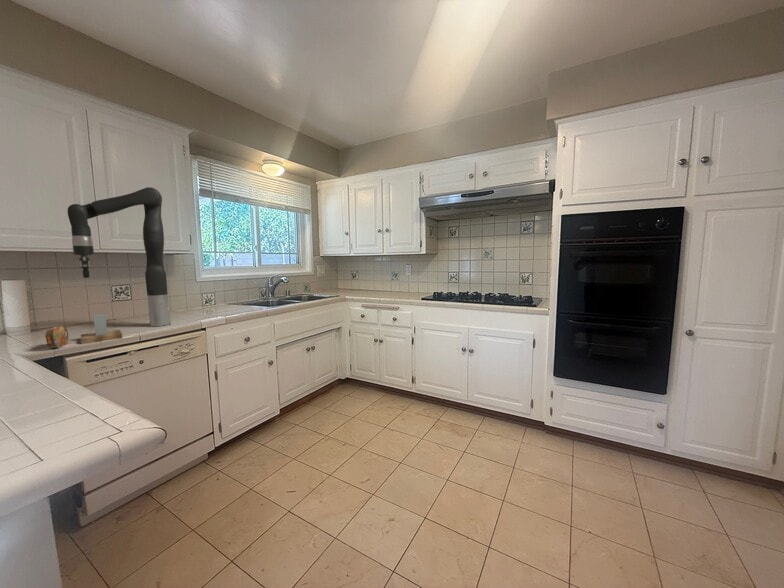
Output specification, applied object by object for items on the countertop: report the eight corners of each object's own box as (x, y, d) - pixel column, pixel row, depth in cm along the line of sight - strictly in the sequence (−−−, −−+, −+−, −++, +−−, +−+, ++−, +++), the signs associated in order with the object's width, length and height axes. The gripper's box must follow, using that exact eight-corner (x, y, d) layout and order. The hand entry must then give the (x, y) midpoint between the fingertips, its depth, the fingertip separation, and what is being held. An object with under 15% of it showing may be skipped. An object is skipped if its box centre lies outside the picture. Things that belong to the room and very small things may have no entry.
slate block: (106, 332, 153) (104, 314, 152) (107, 334, 151) (105, 315, 150) (95, 334, 151) (93, 315, 150) (95, 335, 148) (93, 316, 147)
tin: (56, 350, 132) (53, 329, 131) (45, 351, 130) (42, 330, 130) (70, 342, 145) (67, 323, 144) (60, 343, 143) (58, 324, 143)
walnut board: (120, 333, 161) (119, 329, 160) (122, 338, 150) (122, 334, 150) (81, 338, 151) (81, 334, 151) (81, 343, 141) (80, 339, 141)
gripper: (93, 244, 160) (96, 277, 161) (92, 246, 170) (96, 276, 172) (71, 244, 155) (75, 278, 156) (73, 245, 165) (76, 277, 167)
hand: (86, 277), depth 164 cm, fingers open, 8 cm apart
